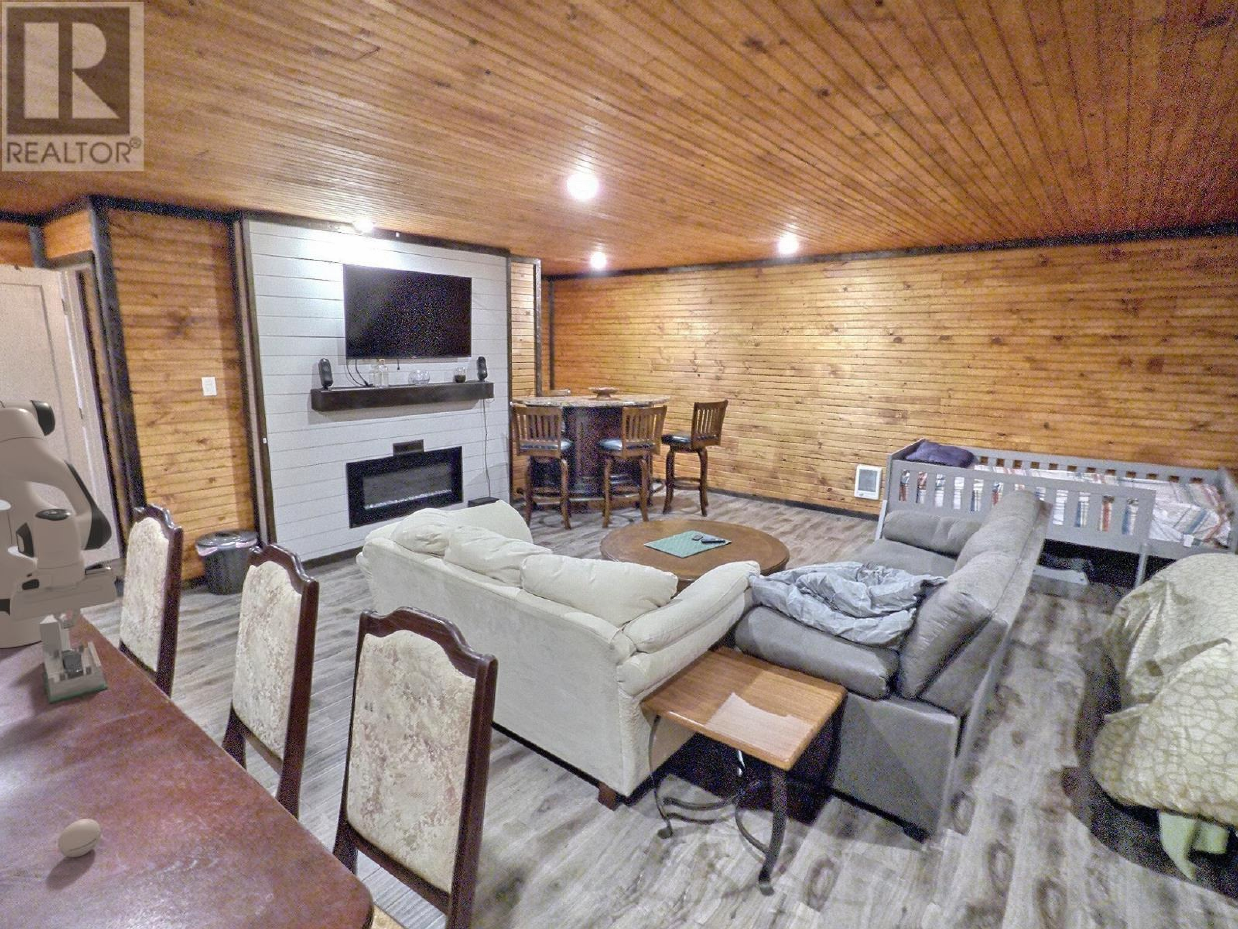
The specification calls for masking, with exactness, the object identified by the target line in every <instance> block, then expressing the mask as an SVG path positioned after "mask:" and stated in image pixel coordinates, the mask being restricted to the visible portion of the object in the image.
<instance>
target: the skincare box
mask: <svg viewBox="0 0 1238 929" xmlns="http://www.w3.org/2000/svg"><path fill="white" fill-rule="evenodd" d="M60 618H61V619H62V620H68V618H67V614H66V613H61V617H60ZM39 627H40V634H41V647H42V653H43V652H47V651H48V653H49V656H53V655H54V652H53V650H56V649H58V650H59V654H62V653H61V652H62V651H66V650H70V649H72V647H71V641H70V640H71V639H70V633H69V632H70V631H69V628H66V629H61V626H60V623H59V622H58V621H57V620H56V619H54V617H53V615H51V616H47V617H46V618H45V619H44V620H43V621H42V622H41V623H40V624H39Z"/></svg>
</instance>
